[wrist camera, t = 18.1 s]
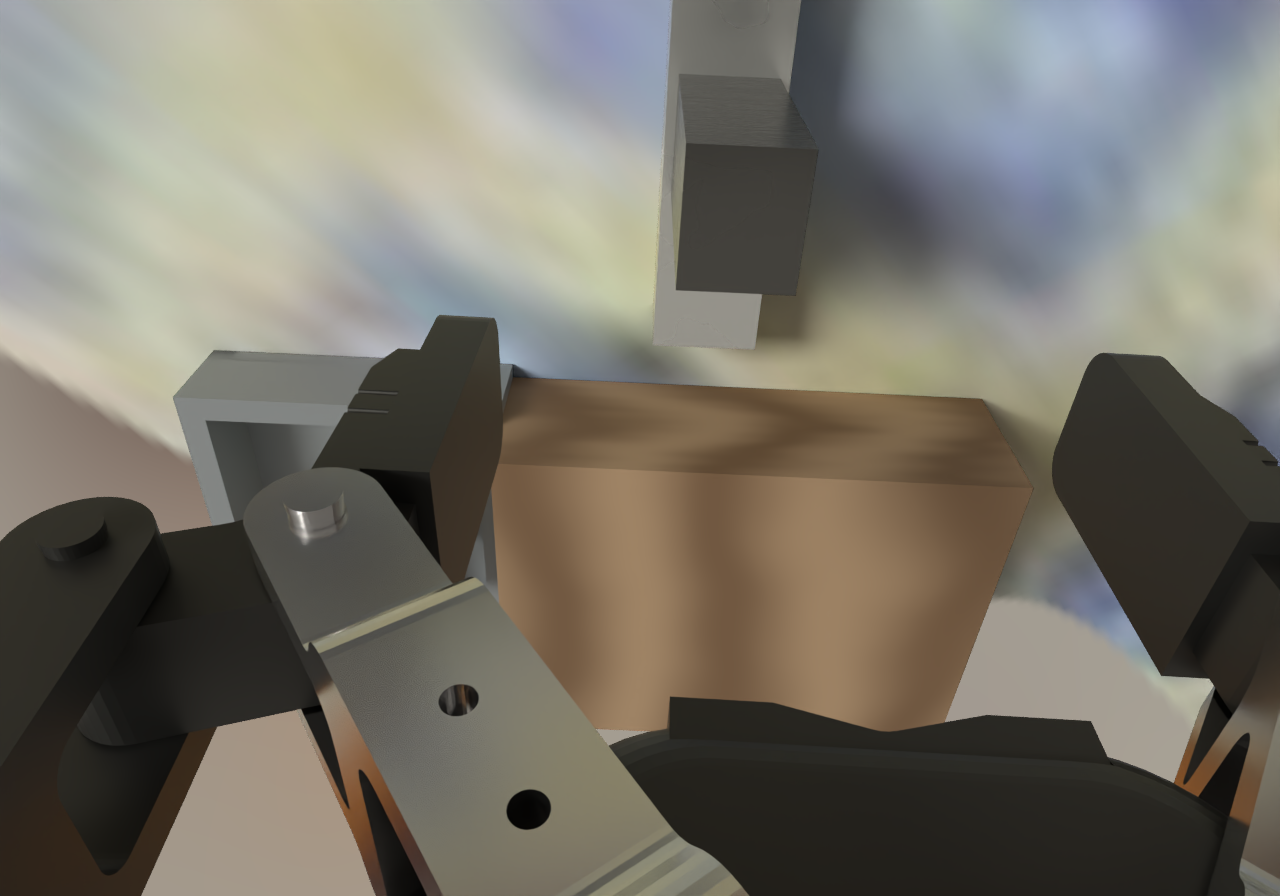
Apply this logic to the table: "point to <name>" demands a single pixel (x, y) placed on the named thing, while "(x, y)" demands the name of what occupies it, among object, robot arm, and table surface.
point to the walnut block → (751, 545)
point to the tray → (282, 429)
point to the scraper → (729, 171)
